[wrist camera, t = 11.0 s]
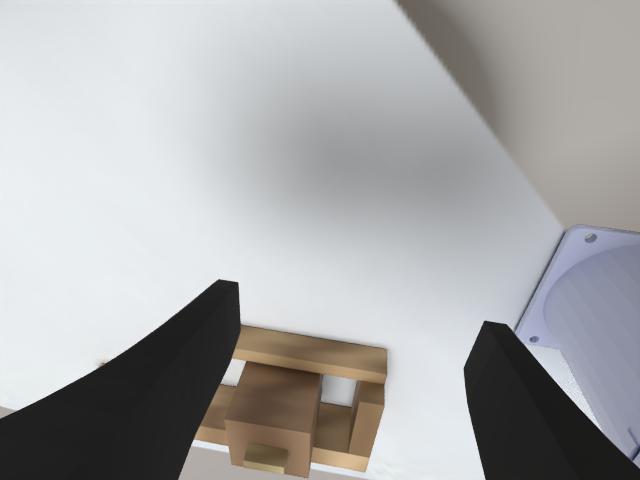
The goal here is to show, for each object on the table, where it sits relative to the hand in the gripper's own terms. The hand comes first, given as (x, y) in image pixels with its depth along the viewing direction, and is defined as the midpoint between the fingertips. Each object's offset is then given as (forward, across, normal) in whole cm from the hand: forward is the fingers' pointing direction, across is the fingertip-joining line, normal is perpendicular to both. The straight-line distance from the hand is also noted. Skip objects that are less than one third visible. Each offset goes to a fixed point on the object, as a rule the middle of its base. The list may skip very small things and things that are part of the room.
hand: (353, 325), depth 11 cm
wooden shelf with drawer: (+9, +8, +15) cm, 20 cm away
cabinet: (+10, +4, +15) cm, 18 cm away
